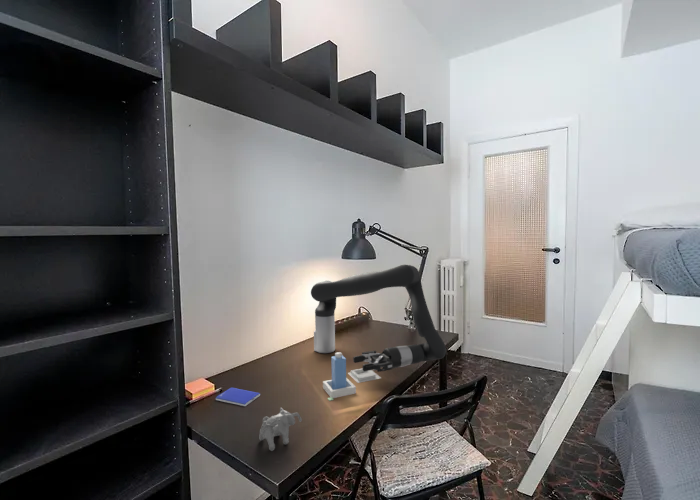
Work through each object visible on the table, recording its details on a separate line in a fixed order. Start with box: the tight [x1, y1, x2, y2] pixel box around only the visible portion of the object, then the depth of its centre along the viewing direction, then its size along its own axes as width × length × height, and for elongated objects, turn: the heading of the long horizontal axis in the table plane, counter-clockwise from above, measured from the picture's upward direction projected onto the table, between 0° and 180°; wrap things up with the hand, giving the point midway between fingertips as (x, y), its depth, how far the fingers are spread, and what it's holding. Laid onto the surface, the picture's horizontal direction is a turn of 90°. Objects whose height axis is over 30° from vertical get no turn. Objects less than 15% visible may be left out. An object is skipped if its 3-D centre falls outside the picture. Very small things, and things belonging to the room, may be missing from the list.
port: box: [322, 376, 357, 402], centre depth 124 cm, size 12×12×3 cm
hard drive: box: [215, 387, 261, 407], centre depth 122 cm, size 2×8×12 cm
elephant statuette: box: [258, 406, 303, 452], centre depth 97 cm, size 9×12×8 cm
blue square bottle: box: [331, 351, 347, 390], centre depth 124 cm, size 4×4×14 cm
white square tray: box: [347, 367, 382, 384], centre depth 137 cm, size 10×10×2 cm
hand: (358, 363), depth 127 cm, fingers open, 8 cm apart
